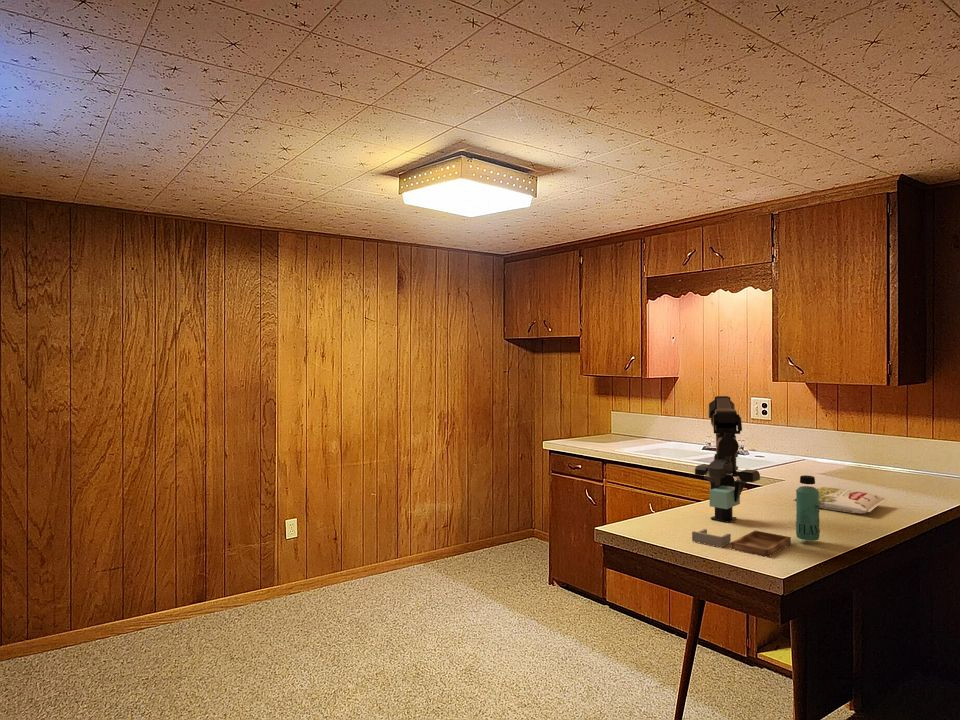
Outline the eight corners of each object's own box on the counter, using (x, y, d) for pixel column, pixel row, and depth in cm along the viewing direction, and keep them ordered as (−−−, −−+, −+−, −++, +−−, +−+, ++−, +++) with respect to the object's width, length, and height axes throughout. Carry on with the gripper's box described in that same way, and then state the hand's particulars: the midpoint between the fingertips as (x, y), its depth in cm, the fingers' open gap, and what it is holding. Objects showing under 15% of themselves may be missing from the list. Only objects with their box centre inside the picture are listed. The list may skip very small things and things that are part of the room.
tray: (755, 536, 202) (755, 530, 202) (790, 543, 194) (790, 537, 194) (730, 549, 190) (730, 542, 190) (767, 557, 183) (767, 550, 183)
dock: (703, 536, 203) (703, 527, 203) (732, 542, 196) (731, 532, 196) (692, 541, 198) (692, 531, 198) (721, 547, 192) (721, 537, 192)
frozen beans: (813, 481, 252) (887, 490, 234) (813, 496, 252) (887, 506, 234) (792, 492, 237) (869, 503, 219) (792, 508, 237) (870, 520, 219)
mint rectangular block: (724, 500, 209) (724, 484, 209) (741, 503, 205) (741, 487, 205) (709, 506, 202) (709, 490, 202) (726, 509, 198) (726, 492, 198)
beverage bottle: (794, 543, 194) (794, 477, 194) (797, 538, 200) (796, 473, 199) (819, 547, 191) (818, 479, 190) (821, 541, 196) (820, 474, 196)
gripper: (685, 450, 205) (686, 500, 205) (744, 457, 191) (745, 510, 192) (703, 446, 212) (703, 494, 213) (760, 452, 199) (761, 503, 199)
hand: (726, 500), depth 204 cm, fingers closed on mint rectangular block, 5 cm apart
